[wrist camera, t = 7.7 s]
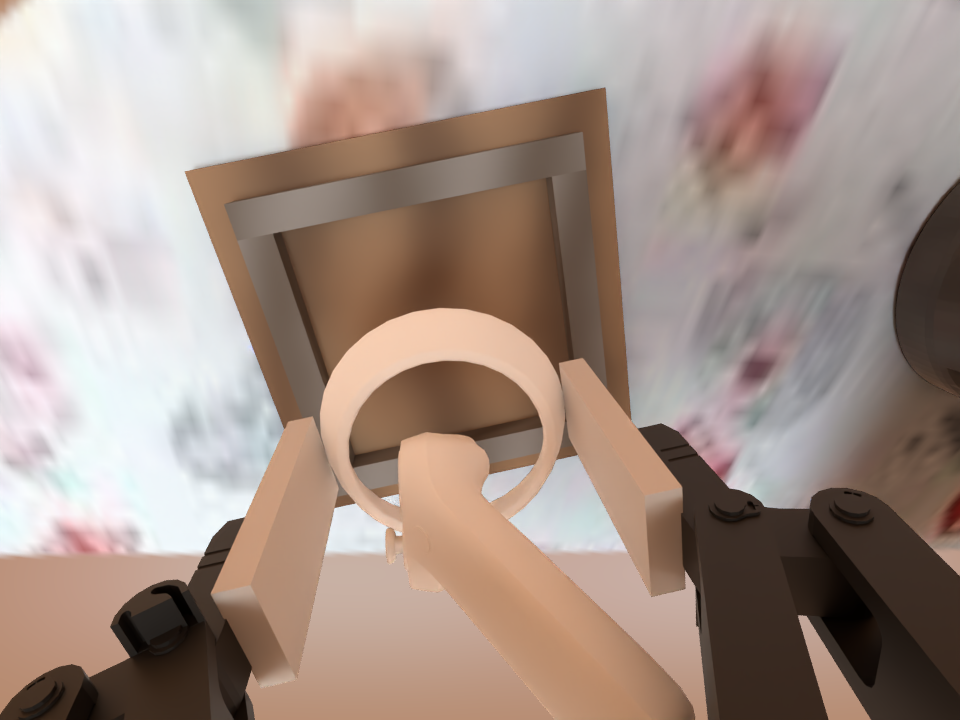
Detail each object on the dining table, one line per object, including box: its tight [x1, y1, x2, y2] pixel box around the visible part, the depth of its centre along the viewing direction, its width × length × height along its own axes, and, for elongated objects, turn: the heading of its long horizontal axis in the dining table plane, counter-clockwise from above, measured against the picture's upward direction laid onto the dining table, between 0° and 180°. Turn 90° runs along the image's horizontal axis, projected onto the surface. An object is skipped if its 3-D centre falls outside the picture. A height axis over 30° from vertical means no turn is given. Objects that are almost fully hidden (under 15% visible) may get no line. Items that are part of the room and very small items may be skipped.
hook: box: [320, 308, 695, 720], centre depth 14 cm, size 8×12×7 cm
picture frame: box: [185, 88, 631, 508], centre depth 25 cm, size 18×18×2 cm
